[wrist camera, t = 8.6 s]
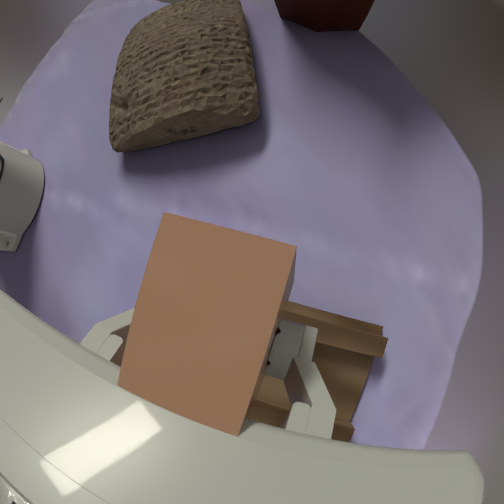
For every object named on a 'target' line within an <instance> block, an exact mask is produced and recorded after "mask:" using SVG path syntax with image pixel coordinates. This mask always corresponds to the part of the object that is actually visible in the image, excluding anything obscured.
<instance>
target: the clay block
mask: <svg viewBox="0 0 504 504" xmlns="http://www.w3.org/2000/svg"><path fill="white" fill-rule="evenodd" d="M296 248H297V246H294V245H290V244H286V243H282V242H279V241H275V240H271V239H267V238H263V237H260V236H256V235H252V234H248V233H244V232H240V231H237V230H233V229H229V228H225V227H221V226H217V225H213V224H209V223H205V222H201V221H198V220H194V219H190V218H186V217H182V216H178V215H174V214H170V213H166V212H164V214H163V217H162V220H161V223H160V226H159V229H158V232H157V235H156V238H155V241H154V244H153V247H152V250H151V253H150V256H149V260H148V263H147V266H146V270H145V273H144V276H143V280H142V283H141V287H140V290H139V294H138V298H137V301H136V305H135V309H134V313H133V317H132V321H131V325H130V329H129V333H128V337H127V341H126V346H125V350H124V355H123V359H122V364H121V369H120V374H119V379H118V384H117V386H119V387H121V388H123V389H125V390H127V391H129V392H131V393H132V394H134V395H136V396H138V397H140V398H143V399H145V400H147V401H149V402H151V403H153V404H155V405H157V406H160V407H162V408H164V409H166V410H168V411H171V412H173V413H175V414H178V415H180V416H183V417H185V418H187V419H190V420H192V421H195V422H198V423H200V424H203V425H205V426H208V427H211V428H214V429H216V430H219V431H222V432H225V433H228V434H231V435H234V436H237V437H238V435H239V432H240V429H241V427H242V424H243V422H244V419H245V418H248V417H249V414H250V412H251V410H252V407H253V405H254V402H255V400H256V397H257V395H258V392H259V390H260V387H261V385H262V382H263V380H264V377H265V374H264V372H265V369H266V365H267V362H268V358H269V355H270V351H271V348H272V345H273V342H274V339H275V336H276V333H277V330H278V327H279V324H280V321H281V319H283V317H284V313H285V310H286V307H287V303H288V300H289V296H290V293H291V289H292V286H293V282H294V274H295V262H296Z"/></svg>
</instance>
